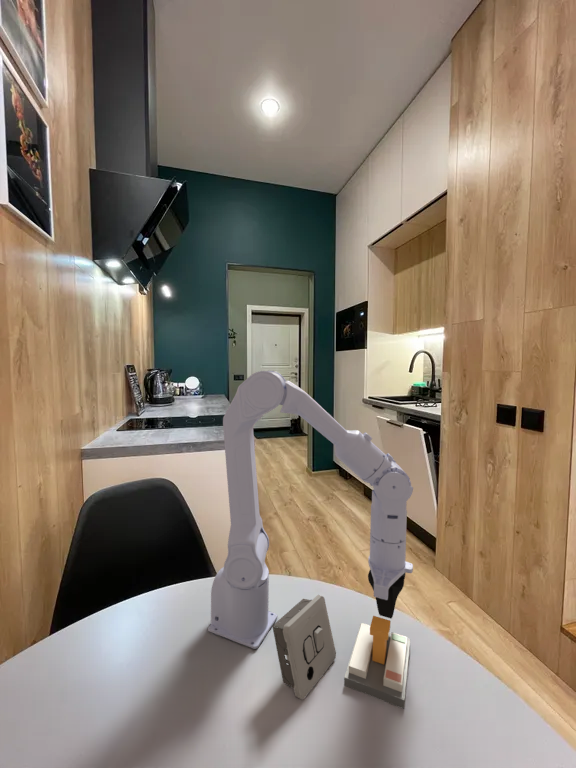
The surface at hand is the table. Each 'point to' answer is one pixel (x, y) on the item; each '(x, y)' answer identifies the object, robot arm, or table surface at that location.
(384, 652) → the breaker handle
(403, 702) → the breaker base
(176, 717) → the table surface
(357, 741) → the table surface
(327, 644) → the electrical switch
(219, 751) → the table surface
